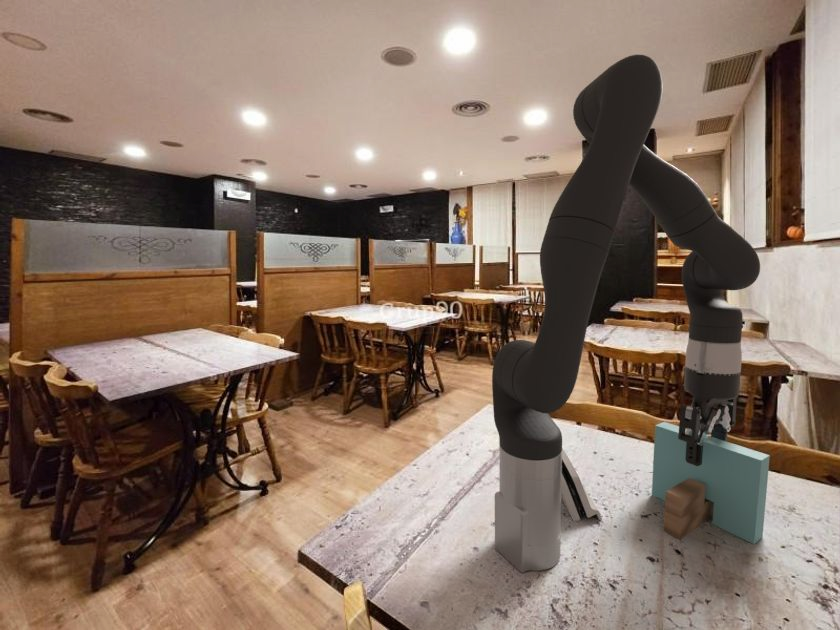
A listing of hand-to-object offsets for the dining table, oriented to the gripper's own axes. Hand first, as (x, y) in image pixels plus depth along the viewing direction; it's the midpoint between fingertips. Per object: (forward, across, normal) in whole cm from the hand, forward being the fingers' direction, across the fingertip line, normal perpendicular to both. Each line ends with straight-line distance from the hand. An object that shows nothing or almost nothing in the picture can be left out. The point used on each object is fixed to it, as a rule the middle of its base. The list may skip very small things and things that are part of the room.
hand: (706, 457), depth 68 cm
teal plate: (+11, 0, 0) cm, 11 cm away
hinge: (+11, +15, -17) cm, 25 cm away
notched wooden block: (+11, 0, 0) cm, 11 cm away
